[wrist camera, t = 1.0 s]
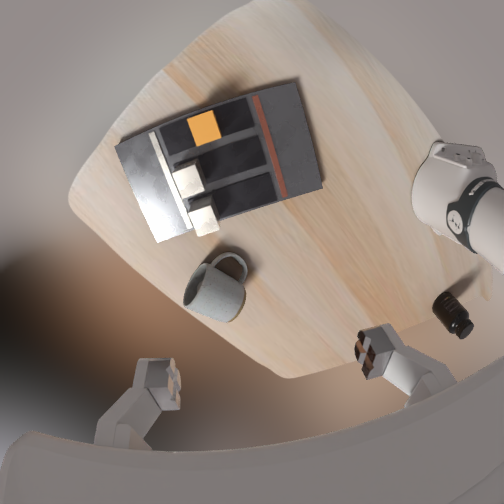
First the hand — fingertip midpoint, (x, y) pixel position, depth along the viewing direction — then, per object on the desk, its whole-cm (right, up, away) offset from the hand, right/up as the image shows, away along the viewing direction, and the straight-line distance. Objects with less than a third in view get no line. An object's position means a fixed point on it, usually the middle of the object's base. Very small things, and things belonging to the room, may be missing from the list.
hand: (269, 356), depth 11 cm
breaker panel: (-5, +17, +27) cm, 32 cm away
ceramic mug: (-6, +1, +36) cm, 37 cm away
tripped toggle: (-7, +21, +22) cm, 31 cm away
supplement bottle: (+47, -8, +47) cm, 67 cm away
